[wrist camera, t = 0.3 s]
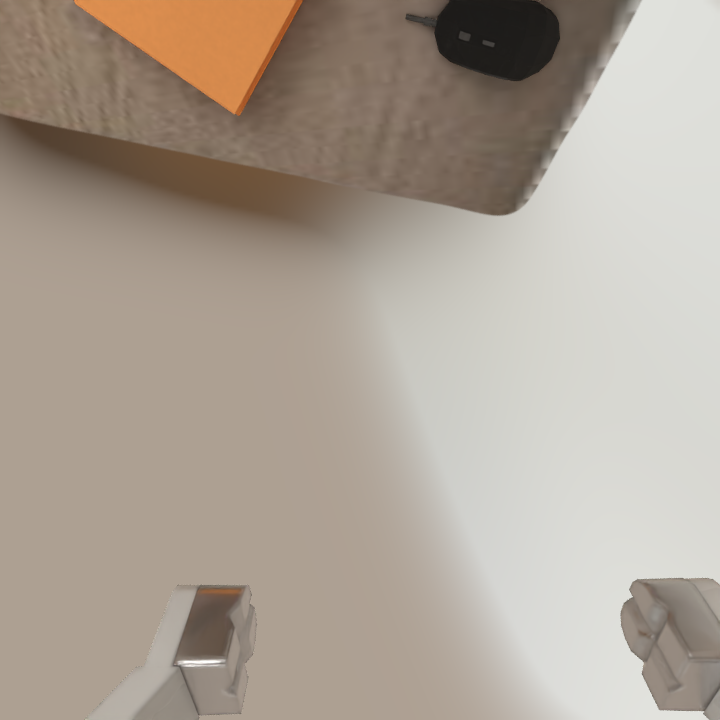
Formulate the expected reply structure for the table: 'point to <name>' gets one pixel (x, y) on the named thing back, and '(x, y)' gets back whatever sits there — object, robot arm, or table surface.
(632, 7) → the table surface
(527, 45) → the gaming mouse
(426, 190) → the table surface
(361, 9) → the table surface
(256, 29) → the folded cloth
